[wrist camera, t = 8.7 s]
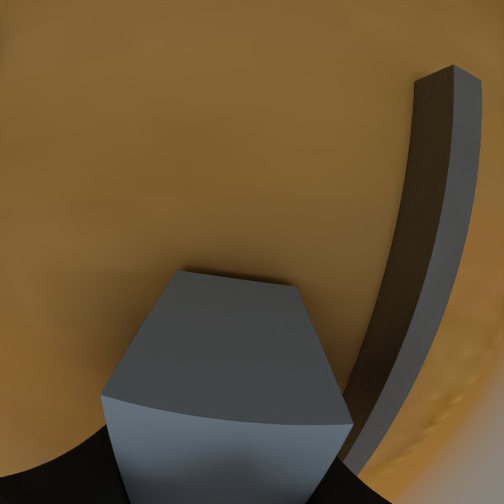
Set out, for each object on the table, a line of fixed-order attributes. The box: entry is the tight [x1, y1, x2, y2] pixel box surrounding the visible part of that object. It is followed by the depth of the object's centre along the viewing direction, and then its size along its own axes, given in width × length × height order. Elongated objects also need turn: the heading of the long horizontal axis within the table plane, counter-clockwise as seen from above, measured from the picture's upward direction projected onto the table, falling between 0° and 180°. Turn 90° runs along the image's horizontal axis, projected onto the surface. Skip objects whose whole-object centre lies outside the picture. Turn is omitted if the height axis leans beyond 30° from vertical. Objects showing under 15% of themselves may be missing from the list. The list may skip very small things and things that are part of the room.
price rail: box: [337, 65, 482, 476], centre depth 12 cm, size 30×2×3 cm, turn 171°
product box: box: [100, 270, 354, 504], centre depth 9 cm, size 4×9×7 cm, turn 171°
